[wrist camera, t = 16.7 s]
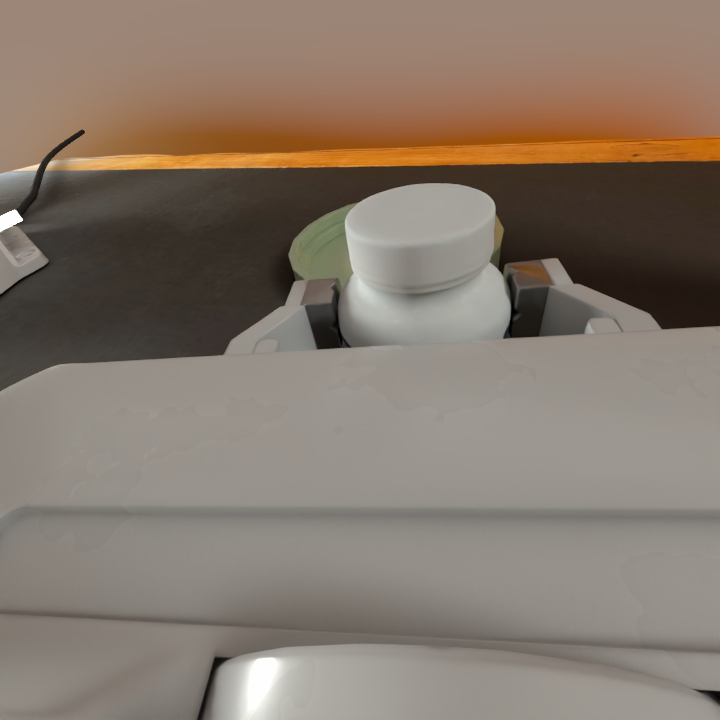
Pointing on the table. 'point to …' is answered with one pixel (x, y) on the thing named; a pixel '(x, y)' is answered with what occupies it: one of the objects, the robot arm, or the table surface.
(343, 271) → the dish
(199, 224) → the table surface
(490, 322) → the pill bottle
